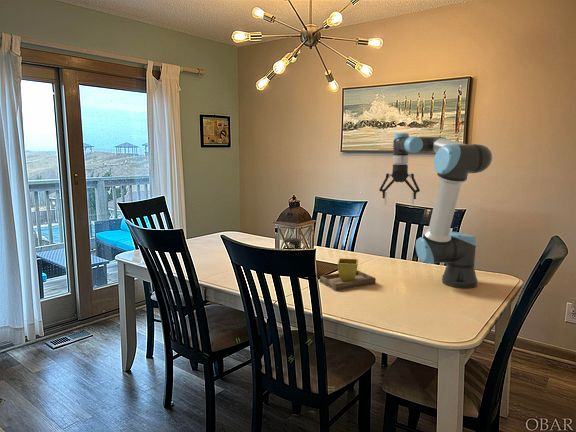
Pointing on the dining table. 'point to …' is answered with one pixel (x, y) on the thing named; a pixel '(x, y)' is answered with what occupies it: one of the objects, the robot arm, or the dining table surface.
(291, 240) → the french press
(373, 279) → the walnut tray
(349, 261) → the flower pot
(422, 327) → the dining table surface
